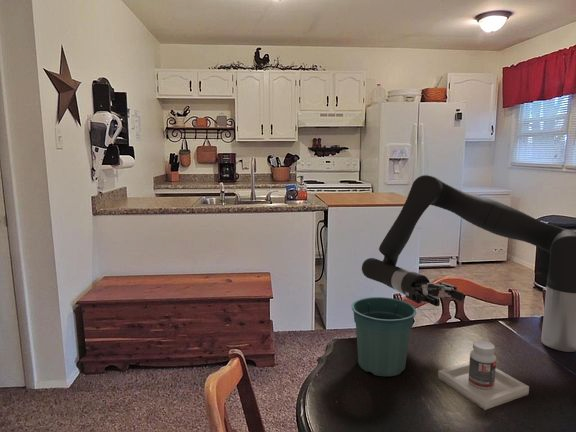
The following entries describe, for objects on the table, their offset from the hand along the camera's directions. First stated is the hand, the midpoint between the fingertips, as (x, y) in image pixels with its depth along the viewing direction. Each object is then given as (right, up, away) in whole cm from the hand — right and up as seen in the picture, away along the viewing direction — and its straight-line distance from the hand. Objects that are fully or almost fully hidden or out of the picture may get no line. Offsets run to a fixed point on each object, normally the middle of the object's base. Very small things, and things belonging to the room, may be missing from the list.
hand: (450, 300), depth 110 cm
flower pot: (-19, -17, -1) cm, 26 cm away
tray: (+3, -18, -11) cm, 22 cm away
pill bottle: (+3, -18, -11) cm, 21 cm away
